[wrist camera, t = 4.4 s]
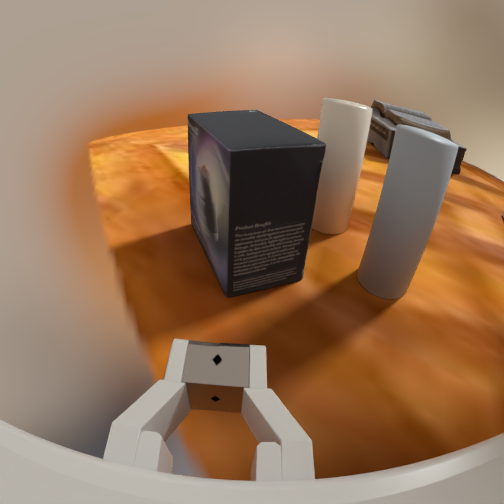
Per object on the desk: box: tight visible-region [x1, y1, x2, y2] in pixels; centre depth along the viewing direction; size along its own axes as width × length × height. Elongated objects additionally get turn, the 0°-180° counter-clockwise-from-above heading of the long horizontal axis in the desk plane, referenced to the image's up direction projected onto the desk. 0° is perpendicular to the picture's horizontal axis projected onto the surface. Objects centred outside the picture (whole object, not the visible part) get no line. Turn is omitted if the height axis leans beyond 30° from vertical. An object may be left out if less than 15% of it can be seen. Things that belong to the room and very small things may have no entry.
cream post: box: [311, 98, 373, 234], centre depth 27 cm, size 4×4×12 cm
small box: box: [188, 110, 326, 297], centre depth 23 cm, size 11×6×10 cm, turn 23°
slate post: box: [357, 125, 459, 299], centre depth 20 cm, size 4×4×12 cm
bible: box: [367, 100, 466, 174], centre depth 60 cm, size 23×27×10 cm
